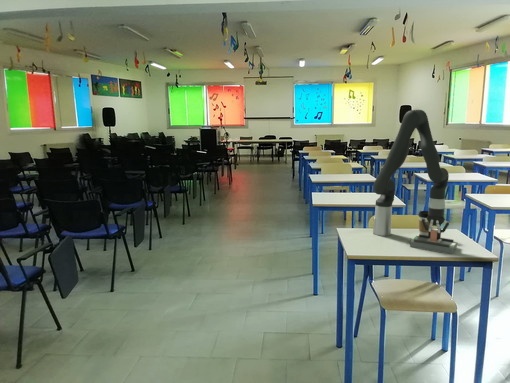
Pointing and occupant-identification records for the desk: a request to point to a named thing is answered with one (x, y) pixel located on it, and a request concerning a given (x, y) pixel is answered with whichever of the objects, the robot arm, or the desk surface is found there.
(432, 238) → the handle
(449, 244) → the switch box
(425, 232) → the coffee cup
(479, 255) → the desk surface
